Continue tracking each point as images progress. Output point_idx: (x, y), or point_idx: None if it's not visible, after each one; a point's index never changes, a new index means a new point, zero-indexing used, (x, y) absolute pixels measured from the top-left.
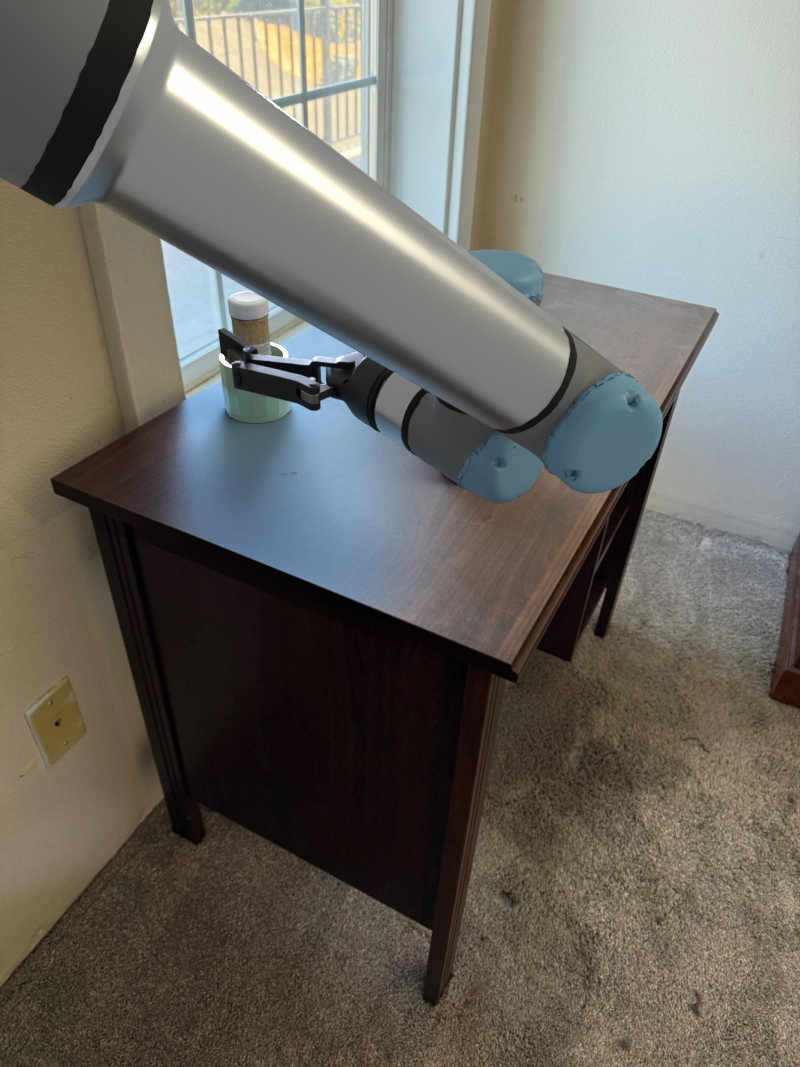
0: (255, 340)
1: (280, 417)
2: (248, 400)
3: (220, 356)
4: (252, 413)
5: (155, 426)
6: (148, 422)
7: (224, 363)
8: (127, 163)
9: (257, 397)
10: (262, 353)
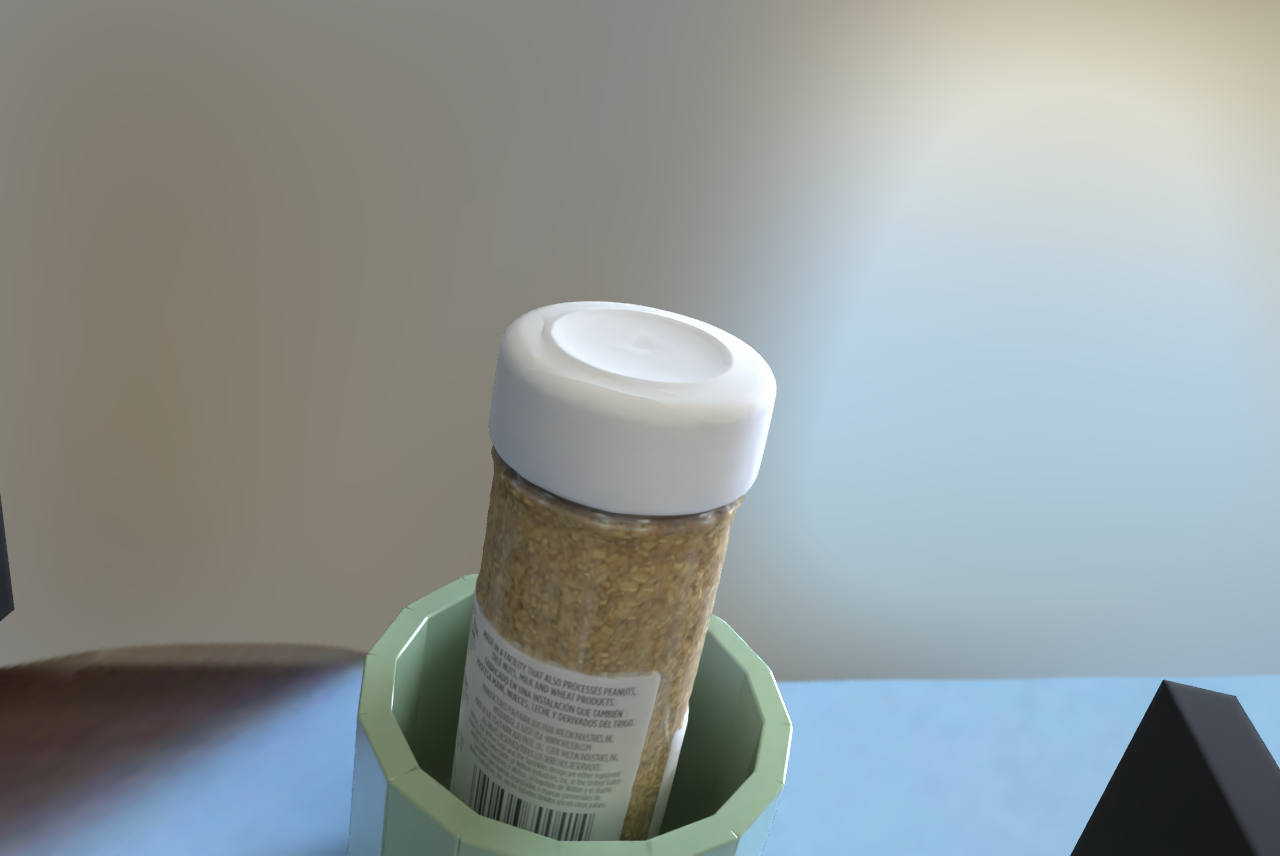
0: (539, 628)
1: None
2: None
3: (446, 589)
4: None
5: (102, 703)
6: (125, 668)
7: (389, 639)
8: None
9: None
10: (561, 725)
